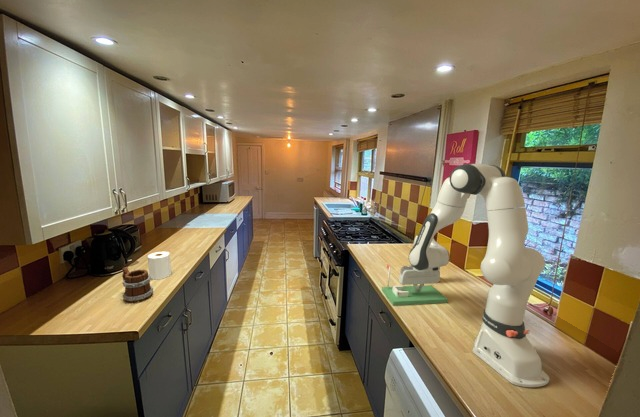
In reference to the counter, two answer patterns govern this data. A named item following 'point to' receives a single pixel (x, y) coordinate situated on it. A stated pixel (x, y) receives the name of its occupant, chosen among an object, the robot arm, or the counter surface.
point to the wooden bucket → (136, 285)
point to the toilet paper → (159, 265)
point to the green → (412, 294)
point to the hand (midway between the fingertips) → (417, 291)
